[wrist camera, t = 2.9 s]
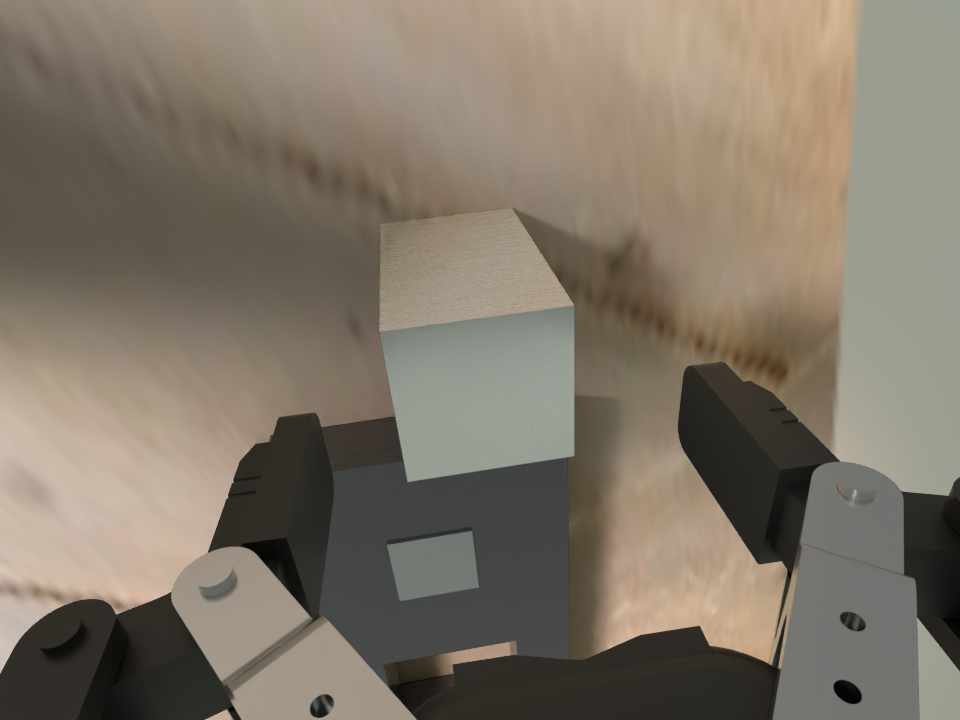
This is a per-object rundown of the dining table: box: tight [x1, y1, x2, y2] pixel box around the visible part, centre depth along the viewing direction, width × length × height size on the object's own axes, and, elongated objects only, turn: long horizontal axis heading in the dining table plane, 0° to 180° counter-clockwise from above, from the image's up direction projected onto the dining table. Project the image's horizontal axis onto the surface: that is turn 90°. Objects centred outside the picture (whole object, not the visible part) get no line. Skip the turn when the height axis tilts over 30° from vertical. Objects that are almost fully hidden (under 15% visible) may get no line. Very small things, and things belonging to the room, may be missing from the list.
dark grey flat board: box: [269, 417, 570, 713], centre depth 26 cm, size 10×20×3 cm, turn 5°
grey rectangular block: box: [379, 208, 574, 482], centre depth 16 cm, size 4×4×7 cm
